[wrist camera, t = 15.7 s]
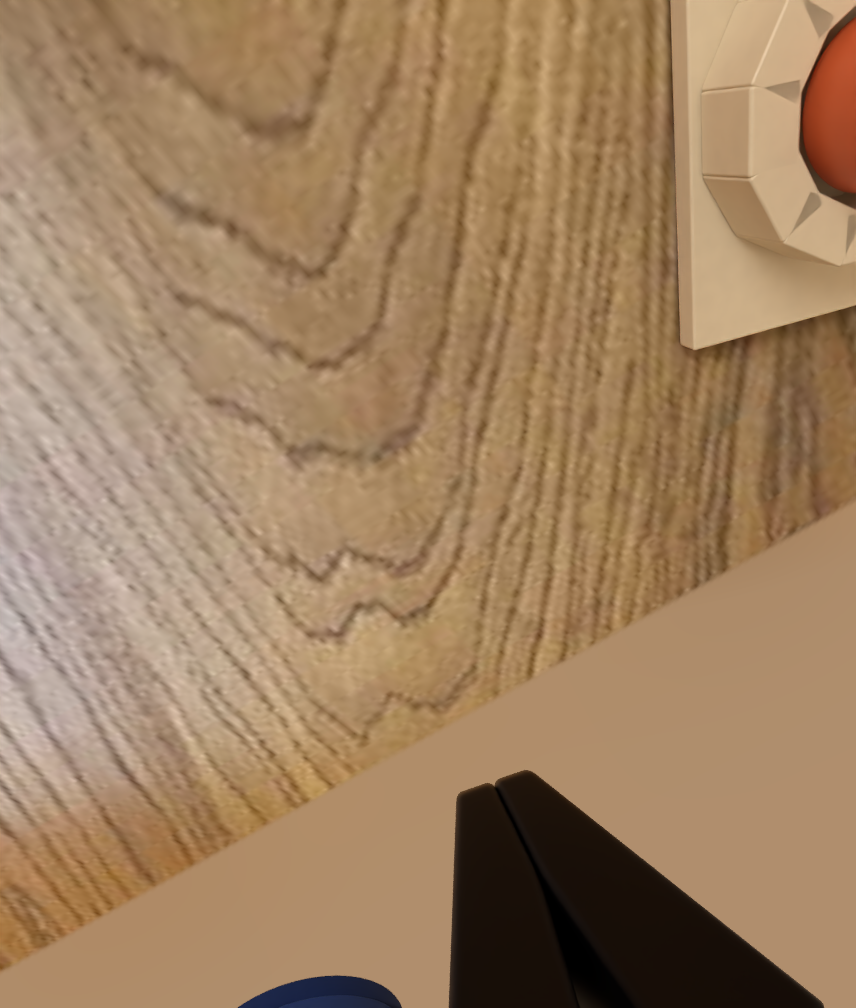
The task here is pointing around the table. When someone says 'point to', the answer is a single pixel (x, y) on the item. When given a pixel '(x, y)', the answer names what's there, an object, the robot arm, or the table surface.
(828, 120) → the button
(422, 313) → the table surface
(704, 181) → the beige button base
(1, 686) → the table surface
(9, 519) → the table surface
